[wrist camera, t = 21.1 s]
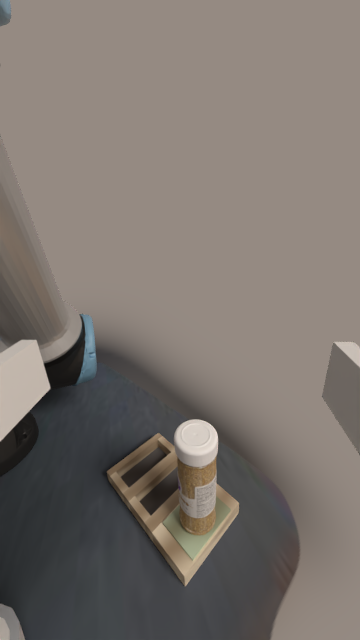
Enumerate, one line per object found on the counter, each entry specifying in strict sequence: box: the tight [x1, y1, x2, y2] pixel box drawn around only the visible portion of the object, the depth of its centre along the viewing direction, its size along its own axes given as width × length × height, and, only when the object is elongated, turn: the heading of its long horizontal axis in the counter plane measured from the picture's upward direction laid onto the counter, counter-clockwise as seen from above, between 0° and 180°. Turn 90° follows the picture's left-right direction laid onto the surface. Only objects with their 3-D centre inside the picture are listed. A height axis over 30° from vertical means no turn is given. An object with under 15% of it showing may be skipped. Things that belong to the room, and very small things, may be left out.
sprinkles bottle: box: [174, 420, 218, 536], centre depth 28 cm, size 5×5×14 cm
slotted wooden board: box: [107, 433, 239, 586], centre depth 34 cm, size 16×10×2 cm, turn 44°
